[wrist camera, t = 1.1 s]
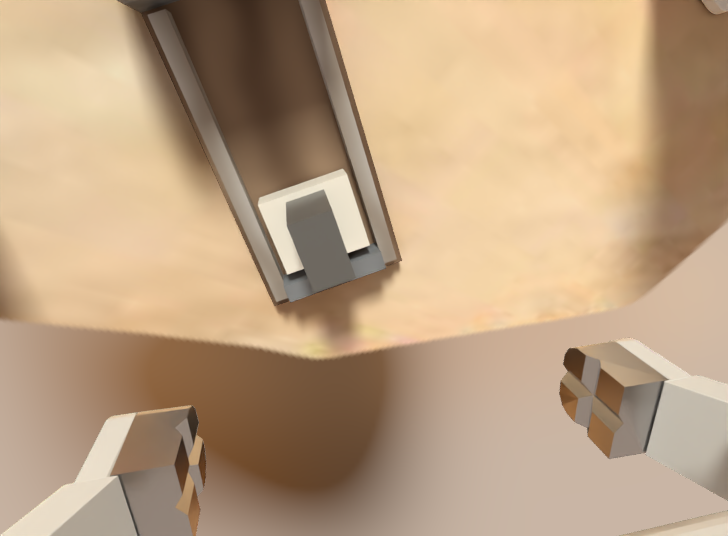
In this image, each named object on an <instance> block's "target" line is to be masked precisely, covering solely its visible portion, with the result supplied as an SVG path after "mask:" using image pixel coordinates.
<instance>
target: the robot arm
mask: <svg viewBox="0 0 728 536" xmlns="http://www.w3.org/2000/svg"><path fill="white" fill-rule="evenodd" d="M702 2H703V4H704V5H705V6H706V8H707V9H708V10H709V11H710V12H711V13H713V14H721V13H724V12H728V0H702ZM563 365H564V366H565V368H566V369H567V371H568V372H567V373H566V375H565V376H564V377H563V378H562V380H561V383H560V392H559V394H560V398H561V402H562V406H563V407H564V409H565V411H566V413H567V414H568V415H569V416H570V418H571V419H572V420H573V421H574V422H576V423H578V424H580V425H582V426H584V427H586V428H587V433H588V437H589V438H590V439H591V440H592V441H593V443H594V444H595V445H596V446H597V447H598V448H599V449H600V450H601V451H602V452H603V453H604V454H605V455H606V456H607V457H608V458H609V459H611V458H618V457H624V456H629V455H636V454H641V453H646V455H647V456H649V457H650V458H652V459H654V460H656V461H658V462H659V463H661V464H663V465H665V466H666V467H669V468H670V469H672V470H674V471H676V472H677V473H679V474H681V475H683V476H685V477H686V478H688V479H690V480H692V481H694V482H695V483H697V484H699V485H701V486H702V487H704V488H706V489H708V490H709V491H711V492H713V493H715V494H717V495H718V496H720V497H722V498H724V499H726V500H727V501H728V384H725V383H722V382H719V381H715V380H712V379H709V378H706V377H702V376H699V375H698V376H691V375H689V374H688V373H686V372H685V371H683V370H682V369H680V368H679V367H677V366H676V365H674V364H673V363H671V362H670V361H668V360H667V359H665V358H664V357H662V356H661V355H659V354H658V353H656V352H655V351H653V350H652V349H650V348H648V347H647V346H646V345H644V344H643V343H641V342H639V341H638V340H636V339H632V338H624V339H619V340H614V341H609V342H607V343H600V344H594V345H587V346H581V347H575V348H569V349H568V350H567V352H566V354H565V357H564V362H563ZM198 424H199V421H198V417H197V414H196V409H195V408H194V407H193V406H192V405H190V406H182V407H176V408H167V409H160V410H152V411H145V412H139V413H130V414H123V415H117V416H112V417H110V418H109V419H107V420H106V421H105V423H104V425H103V427H102V429H101V431H100V433H99V435H98V437H97V439H96V441H95V443H94V445H93V447H92V449H91V450H90V453H89V455H88V456H87V458H86V460H85V462H84V464H83V466H82V468H81V470H80V472H79V474H78V476H77V478H76V480H75V482H74V483H71V484H66V485H63V486H62V487H61V488H60V489H58V490H57V491H56V492H54V493H53V494H52V495H51V496H50V497H48V498H47V499H46V500H44V501H43V502H42V503H41V504H39V505H38V506H37V507H35V508H34V509H33V510H32V511H30V512H29V513H28V514H26V515H25V516H24V517H23V518H21V519H20V520H19V521H17V522H16V523H15V524H14V525H12V526H11V527H10V528H8V529H7V530H6V531H5V532H3V533H2V534H1V535H0V536H196V532H197V526H198V521H199V515H200V506H199V501H198V496H199V495H200V493H201V492H202V491H203V490H204V486H205V479H206V455H205V448H204V443H203V440H202V439H201V438H200V437H198V436H197V435H196V433H197V428H198ZM620 536H728V510H727V511H722V512H719V513H714V514H710V515H705V516H701V517H697V518H693V519H688V520H684V521H680V522H676V523H671V524H667V525H663V526H659V527H654V528H650V529H646V530H642V531H637V532H633V533H629V534H625V535H620Z"/></svg>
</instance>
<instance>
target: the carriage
mask: <svg viewBox="0 0 728 536" xmlns="http://www.w3.org/2000/svg"><path fill="white" fill-rule="evenodd" d="M258 207H259V209H260V212H261V214H262V216H263V219H264V221H265V223H266V226H267V228H268V230H269V233H270V235H271V237H272V240H273V242H274V244H275V247H276V249H277V252H278V254H279V256H280V259H281V261H282V263H283V266H284V268H285V270H286V273H287V275H288V274H290V273H293V272H296V271H299V270H302V269H304V270H305V272H306V275H307V277H308V280H309V282H310V285H311V287H312V290H313V292H314V293H316V292H319V291H321V290H324V289H327V288H330V287H333V286H335V285H338V284H341V283H344V282H347V281H349V280H352V279H355V278H356V276H355V273H354V271H353V268H352V265H351V262H350V259H349V256H348V254H347V253H350V252H352V251H355V250H358V249H361V248H364V247H366V246H369V245H370V244H369V241H368V238H367V234H366V231H365V228H364V225H363V222H362V219H361V216H360V213H359V210H358V207H357V204H356V201H355V197H354V194H353V191H352V188H351V185H350V182H349V179H348V176H347V174H346V172H345V171H344V169H340V170H337V171H334V172H332V173H329V174H326V175H323V176H320V177H317V178H314V179H311V180H309V181H306V182H303V183H300V184H297V185H294V186H291V187H288V188H286V189H283V190H280V191H277V192H274V193H271V194H268V195H265V196H263V197H260V198H259V202H258Z"/></svg>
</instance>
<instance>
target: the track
mask: <svg viewBox="0 0 728 536" xmlns="http://www.w3.org/2000/svg"><path fill="white" fill-rule="evenodd" d="M118 1H119V2H121V3H123V4H125V5H127V6H129V7H131V8H133V9H135V10H137V11H139V12H141V14H142V16H143V18H144V20H145V22H146V25H147V27H148V29H149V31H150V33H151V36H152V38H153V40H154V42H155V44H156V47H157V49H158V51H159V53H160V55H161V58H162V60H163V62H164V64H165V66H166V69H167V71H168V73H169V75H170V77H171V80H172V82H173V84H174V86H175V88H176V90H177V93H178V95H179V97H180V99H181V101H182V104H183V106H184V108H185V110H186V112H187V115H188V117H189V119H190V121H191V123H192V126H193V128H194V130H195V132H196V134H197V137H198V139H199V141H200V143H201V145H202V148H203V150H204V152H205V154H206V156H207V159H208V161H209V163H210V165H211V167H212V170H213V172H214V174H215V176H216V178H217V181H218V183H219V185H220V187H221V189H222V192H223V194H224V196H225V198H226V200H227V203H228V205H229V207H230V209H231V211H232V214H233V216H234V218H235V220H236V222H237V225H238V227H239V229H240V231H241V233H242V236H243V238H244V240H245V242H246V244H247V247H248V249H249V251H250V253H251V255H252V258H253V260H254V262H255V264H256V266H257V269H258V271H259V273H260V275H261V277H262V280H263V282H264V284H265V286H266V288H267V291H268V293H269V295H270V297H271V299H272V302H273V304H274V306H276V305H279V304H282V303H285V302H288V301H290V302H293V301H296V300H299V299H302V298H304V297H307V296H310V295H313V294H315V293H314V292H313V290H312V287H311V285H310V282H309V280H308V277H307V275H306V272H305V270H304V269H302V270H299V271H296V272H293V273H290V274H288V275H287V273H286V270H285V268H284V266H283V263H282V261H281V259H280V256H279V254H278V252H277V249H276V247H275V244H274V242H273V240H272V237H271V235H270V233H269V230H268V228H267V226H266V223H265V221H264V219H263V216H262V214H261V212H260V209H259V207H258V202H259V198H260V197H263V196H265V195H268V194H271V193H274V192H277V191H280V190H283V189H286V188H288V187H291V186H294V185H297V184H300V183H303V182H306V181H309V180H311V179H314V178H317V177H320V176H323V175H326V174H329V173H332V172H334V171H337V170H340V169H344V171H345V172H346V174H347V176H348V179H349V182H350V185H351V188H352V191H353V194H354V197H355V201H356V204H357V207H358V210H359V213H360V216H361V219H362V222H363V225H364V228H365V231H366V234H367V238H368V241H369V244H370V245H369V246H366V247H364V248H361V249H358V250H355V251H352V252H350V253H347V254H348V256H349V259H350V262H351V265H352V268H353V271H354V273H355V276H356V278H355V279H357V278H360V277H363V276H366V275H369V274H371V273H374V272H377V271H380V270H383V269H385V268H386V266H388V265H391V264H394V263H397V262H399V261H402V259H401V255H400V252H399V249H398V245H397V242H396V238H395V235H394V232H393V228H392V225H391V221H390V218H389V215H388V211H387V208H386V205H385V201H384V198H383V194H382V191H381V188H380V184H379V181H378V177H377V174H376V171H375V167H374V164H373V160H372V157H371V154H370V150H369V147H368V143H367V140H366V137H365V133H364V130H363V127H362V123H361V120H360V116H359V113H358V110H357V106H356V103H355V99H354V96H353V93H352V89H351V86H350V82H349V79H348V76H347V72H346V69H345V66H344V62H343V59H342V55H341V52H340V49H339V45H338V42H337V38H336V35H335V32H334V28H333V25H332V21H331V18H330V15H329V11H328V8H327V4H326V1H325V0H118ZM355 279H352V280H355ZM352 280H349V281H352ZM349 281H347V282H349ZM344 283H346V282H344ZM341 284H343V283H341ZM341 284H338V285H341ZM338 285H335V286H338ZM335 286H333V287H335ZM330 288H332V287H330ZM327 289H329V288H327ZM327 289H324V290H327ZM324 290H321V291H324ZM321 291H319V292H321ZM316 293H318V292H316Z"/></svg>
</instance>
